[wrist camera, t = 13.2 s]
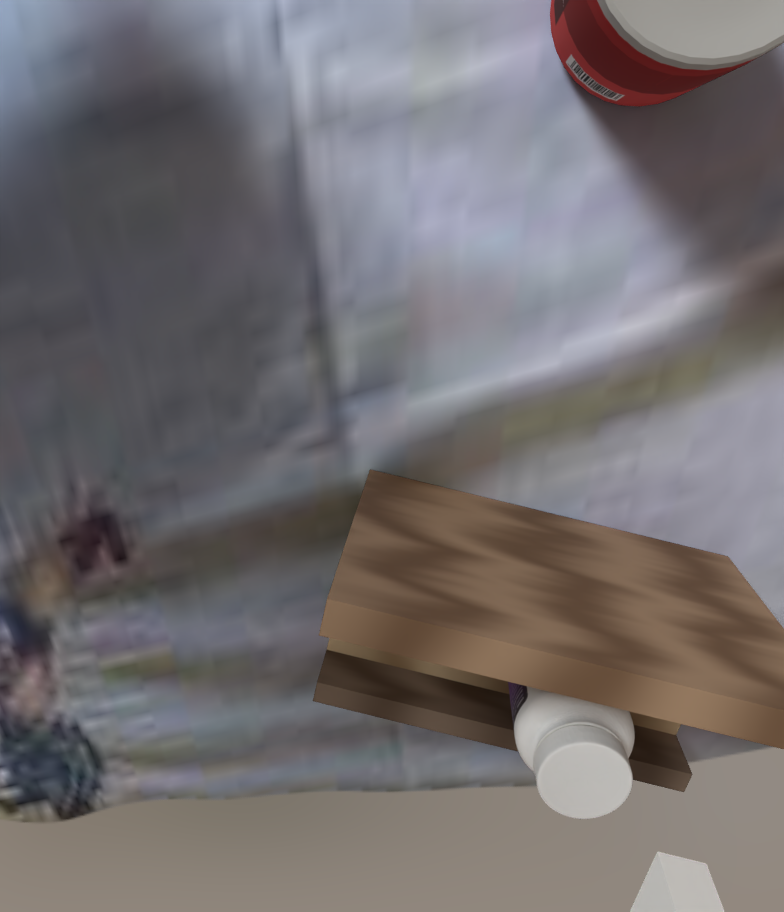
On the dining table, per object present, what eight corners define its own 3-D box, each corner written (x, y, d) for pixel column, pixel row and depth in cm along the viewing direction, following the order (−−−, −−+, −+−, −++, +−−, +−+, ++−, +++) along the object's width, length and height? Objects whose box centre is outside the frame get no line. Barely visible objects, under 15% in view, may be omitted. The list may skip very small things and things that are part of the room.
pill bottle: (550, 709, 41) (576, 853, 32) (484, 646, 40) (491, 777, 31) (627, 653, 40) (678, 788, 31) (560, 587, 39) (592, 705, 30)
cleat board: (329, 642, 44) (275, 830, 31) (369, 469, 40) (327, 598, 27) (657, 722, 44) (743, 945, 31) (728, 556, 40) (860, 729, 27)
